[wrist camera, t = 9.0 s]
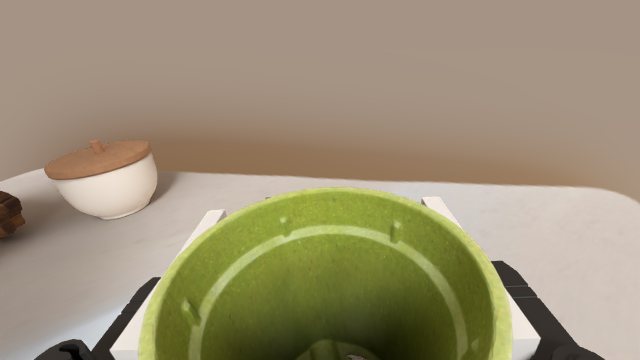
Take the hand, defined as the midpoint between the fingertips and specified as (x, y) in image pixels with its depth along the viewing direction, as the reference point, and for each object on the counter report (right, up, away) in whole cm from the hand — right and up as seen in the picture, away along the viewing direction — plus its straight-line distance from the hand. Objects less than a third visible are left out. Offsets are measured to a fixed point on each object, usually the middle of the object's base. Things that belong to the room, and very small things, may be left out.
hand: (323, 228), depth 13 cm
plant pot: (+1, -8, -1) cm, 8 cm away
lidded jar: (-27, -2, +25) cm, 36 cm away
